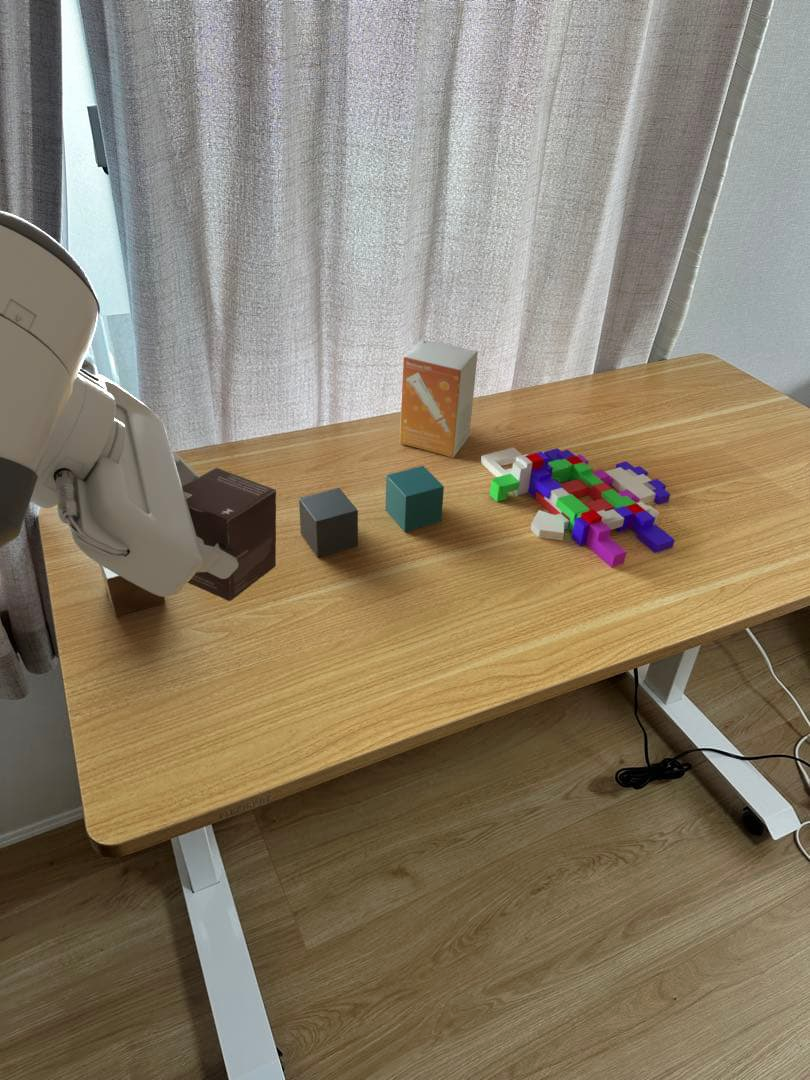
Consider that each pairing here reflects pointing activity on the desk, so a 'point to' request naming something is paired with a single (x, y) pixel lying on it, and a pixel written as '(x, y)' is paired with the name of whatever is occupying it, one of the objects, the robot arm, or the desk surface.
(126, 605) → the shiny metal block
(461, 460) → the desk surface
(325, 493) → the slate block
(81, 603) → the desk surface
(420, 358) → the small box
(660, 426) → the desk surface
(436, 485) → the teal block
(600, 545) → the building block set
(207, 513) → the box
